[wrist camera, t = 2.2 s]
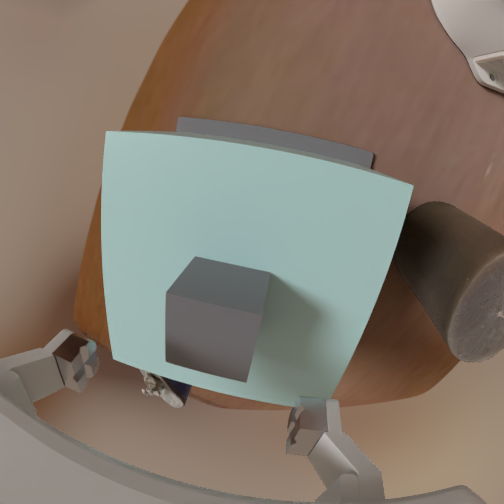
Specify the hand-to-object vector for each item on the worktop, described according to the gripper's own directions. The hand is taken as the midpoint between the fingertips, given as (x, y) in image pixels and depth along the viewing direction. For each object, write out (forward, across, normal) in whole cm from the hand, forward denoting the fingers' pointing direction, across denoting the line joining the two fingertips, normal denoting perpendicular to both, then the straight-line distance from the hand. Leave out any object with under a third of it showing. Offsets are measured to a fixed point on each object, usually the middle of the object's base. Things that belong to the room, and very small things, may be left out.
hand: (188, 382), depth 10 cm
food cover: (+20, 0, 0) cm, 20 cm away
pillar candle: (+21, -19, -2) cm, 28 cm away
